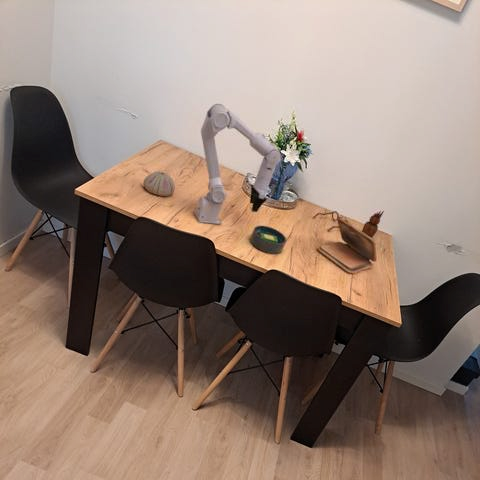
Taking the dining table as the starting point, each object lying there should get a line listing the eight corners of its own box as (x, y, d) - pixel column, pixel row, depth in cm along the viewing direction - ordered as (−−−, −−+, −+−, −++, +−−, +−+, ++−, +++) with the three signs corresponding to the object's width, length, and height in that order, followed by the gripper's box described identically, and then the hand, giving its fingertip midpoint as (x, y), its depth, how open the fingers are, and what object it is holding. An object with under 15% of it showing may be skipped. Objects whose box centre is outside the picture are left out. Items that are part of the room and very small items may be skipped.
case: (374, 267, 207) (392, 236, 198) (350, 275, 193) (368, 242, 184) (340, 243, 216) (355, 212, 207) (314, 249, 202) (329, 216, 193)
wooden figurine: (372, 237, 235) (387, 210, 227) (371, 241, 230) (386, 214, 222) (360, 231, 236) (374, 205, 227) (359, 235, 231) (373, 208, 222)
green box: (257, 244, 187) (260, 237, 186) (256, 238, 191) (258, 231, 189) (276, 249, 190) (279, 242, 188) (275, 243, 193) (277, 236, 191)
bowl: (257, 253, 183) (261, 242, 180) (245, 234, 192) (248, 224, 189) (287, 255, 189) (291, 245, 186) (273, 237, 198) (277, 227, 196)
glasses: (346, 231, 230) (351, 223, 227) (328, 231, 223) (332, 222, 220) (331, 218, 238) (335, 209, 235) (312, 217, 231) (316, 208, 228)
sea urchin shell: (174, 201, 196) (178, 183, 191) (141, 193, 192) (145, 175, 187) (173, 188, 206) (177, 171, 201) (142, 180, 202) (146, 163, 197)
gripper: (276, 186, 180) (264, 217, 188) (271, 172, 192) (260, 202, 199) (259, 181, 179) (248, 213, 186) (255, 167, 190) (244, 197, 198)
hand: (253, 207), depth 193 cm, fingers open, 7 cm apart
